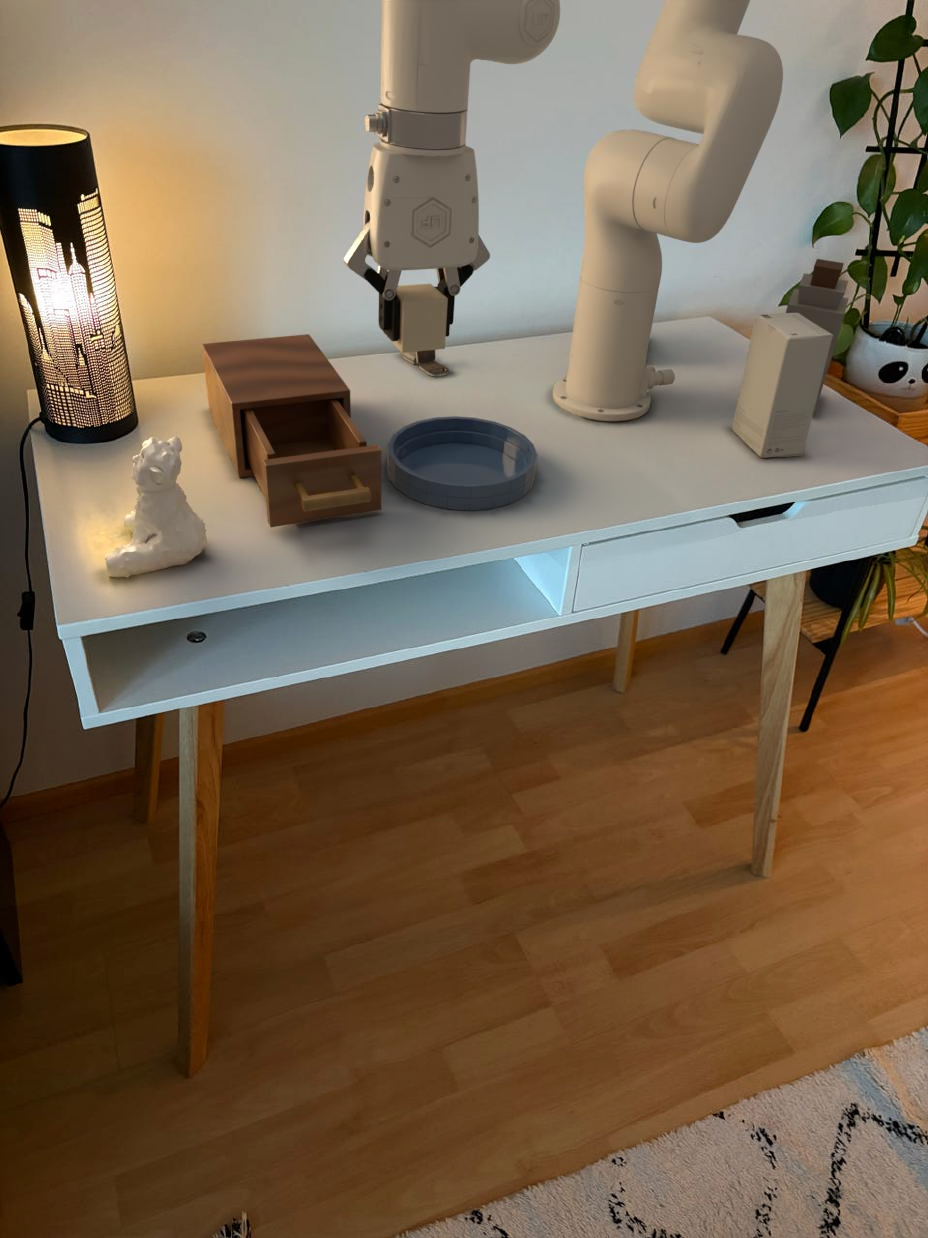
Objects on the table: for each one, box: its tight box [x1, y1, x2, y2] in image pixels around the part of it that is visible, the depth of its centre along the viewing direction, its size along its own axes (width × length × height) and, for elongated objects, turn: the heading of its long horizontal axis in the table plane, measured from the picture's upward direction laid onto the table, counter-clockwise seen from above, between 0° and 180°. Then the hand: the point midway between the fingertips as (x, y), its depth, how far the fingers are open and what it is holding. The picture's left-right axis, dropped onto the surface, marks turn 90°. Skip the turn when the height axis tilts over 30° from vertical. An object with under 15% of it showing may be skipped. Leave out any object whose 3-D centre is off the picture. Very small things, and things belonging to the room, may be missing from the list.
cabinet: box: [201, 334, 352, 478], centre depth 108 cm, size 17×13×9 cm
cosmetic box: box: [731, 312, 833, 459], centre depth 112 cm, size 8×6×15 cm
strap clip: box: [400, 350, 450, 377], centre depth 128 cm, size 8×3×4 cm, turn 35°
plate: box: [386, 416, 538, 511], centre depth 105 cm, size 16×16×3 cm
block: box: [386, 283, 448, 353], centre depth 93 cm, size 4×4×5 cm
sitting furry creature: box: [104, 436, 208, 579], centre depth 87 cm, size 10×9×12 cm
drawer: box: [240, 398, 383, 528], centre depth 97 cm, size 20×11×7 cm, turn 23°
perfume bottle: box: [785, 258, 849, 418], centre depth 121 cm, size 7×7×18 cm
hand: (415, 332), depth 94 cm, fingers closed on block, 4 cm apart
